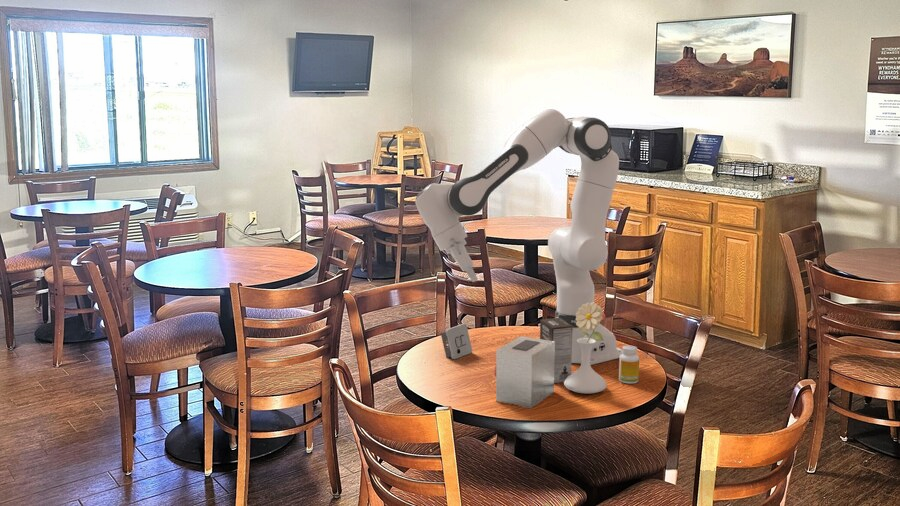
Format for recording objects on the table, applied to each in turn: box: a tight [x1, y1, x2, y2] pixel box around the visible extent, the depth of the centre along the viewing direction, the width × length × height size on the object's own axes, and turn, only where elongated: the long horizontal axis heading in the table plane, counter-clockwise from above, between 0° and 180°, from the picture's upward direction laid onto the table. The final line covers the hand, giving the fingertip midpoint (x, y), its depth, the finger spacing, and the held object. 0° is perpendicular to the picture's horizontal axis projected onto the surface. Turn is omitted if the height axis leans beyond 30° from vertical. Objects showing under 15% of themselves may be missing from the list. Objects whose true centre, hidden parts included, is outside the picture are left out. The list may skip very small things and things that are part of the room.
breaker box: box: [495, 335, 555, 409], centre depth 219 cm, size 10×14×14 cm
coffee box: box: [539, 317, 573, 384], centre depth 233 cm, size 9×6×16 cm
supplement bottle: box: [618, 344, 640, 385], centre depth 231 cm, size 5×5×10 cm
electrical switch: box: [440, 323, 473, 360], centre depth 255 cm, size 9×5×9 cm, turn 141°
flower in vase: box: [563, 301, 608, 395], centre depth 222 cm, size 13×11×25 cm
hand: (475, 280), depth 237 cm, fingers closed
